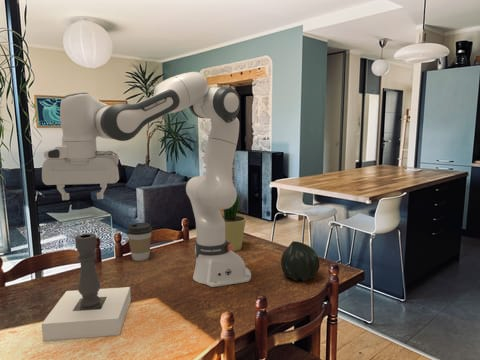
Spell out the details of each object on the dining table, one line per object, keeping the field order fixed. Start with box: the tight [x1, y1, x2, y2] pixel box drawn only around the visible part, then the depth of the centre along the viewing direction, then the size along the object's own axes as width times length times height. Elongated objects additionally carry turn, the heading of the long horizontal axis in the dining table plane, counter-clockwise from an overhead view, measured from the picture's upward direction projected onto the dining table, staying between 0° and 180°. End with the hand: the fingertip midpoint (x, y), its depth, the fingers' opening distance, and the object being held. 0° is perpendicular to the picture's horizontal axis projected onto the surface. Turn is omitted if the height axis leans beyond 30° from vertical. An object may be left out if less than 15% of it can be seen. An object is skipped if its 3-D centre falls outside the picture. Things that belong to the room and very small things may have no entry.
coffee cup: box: [125, 222, 153, 262], centre depth 159 cm, size 11×11×15 cm
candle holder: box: [74, 233, 102, 311], centre depth 107 cm, size 6×6×25 cm
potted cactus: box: [221, 189, 247, 252], centre depth 171 cm, size 15×15×30 cm
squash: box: [280, 240, 320, 282], centre depth 138 cm, size 14×15×15 cm
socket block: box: [41, 286, 131, 342], centre depth 108 cm, size 20×20×5 cm
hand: (83, 199), depth 103 cm, fingers open, 8 cm apart
